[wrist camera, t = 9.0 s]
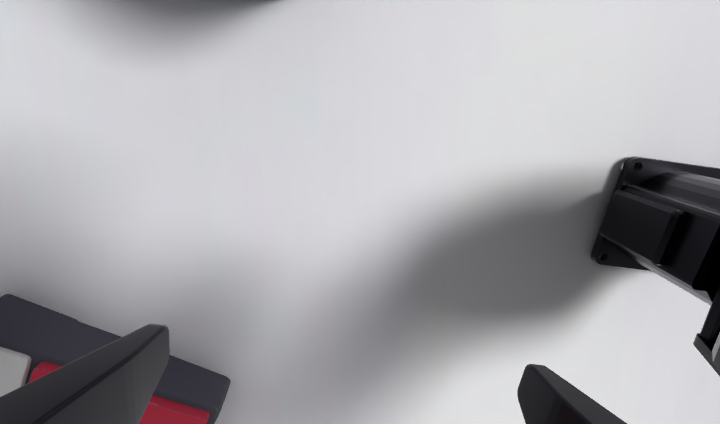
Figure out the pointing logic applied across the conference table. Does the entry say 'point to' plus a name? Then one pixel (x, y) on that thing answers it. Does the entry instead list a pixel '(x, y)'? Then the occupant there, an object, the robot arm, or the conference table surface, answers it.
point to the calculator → (74, 340)
